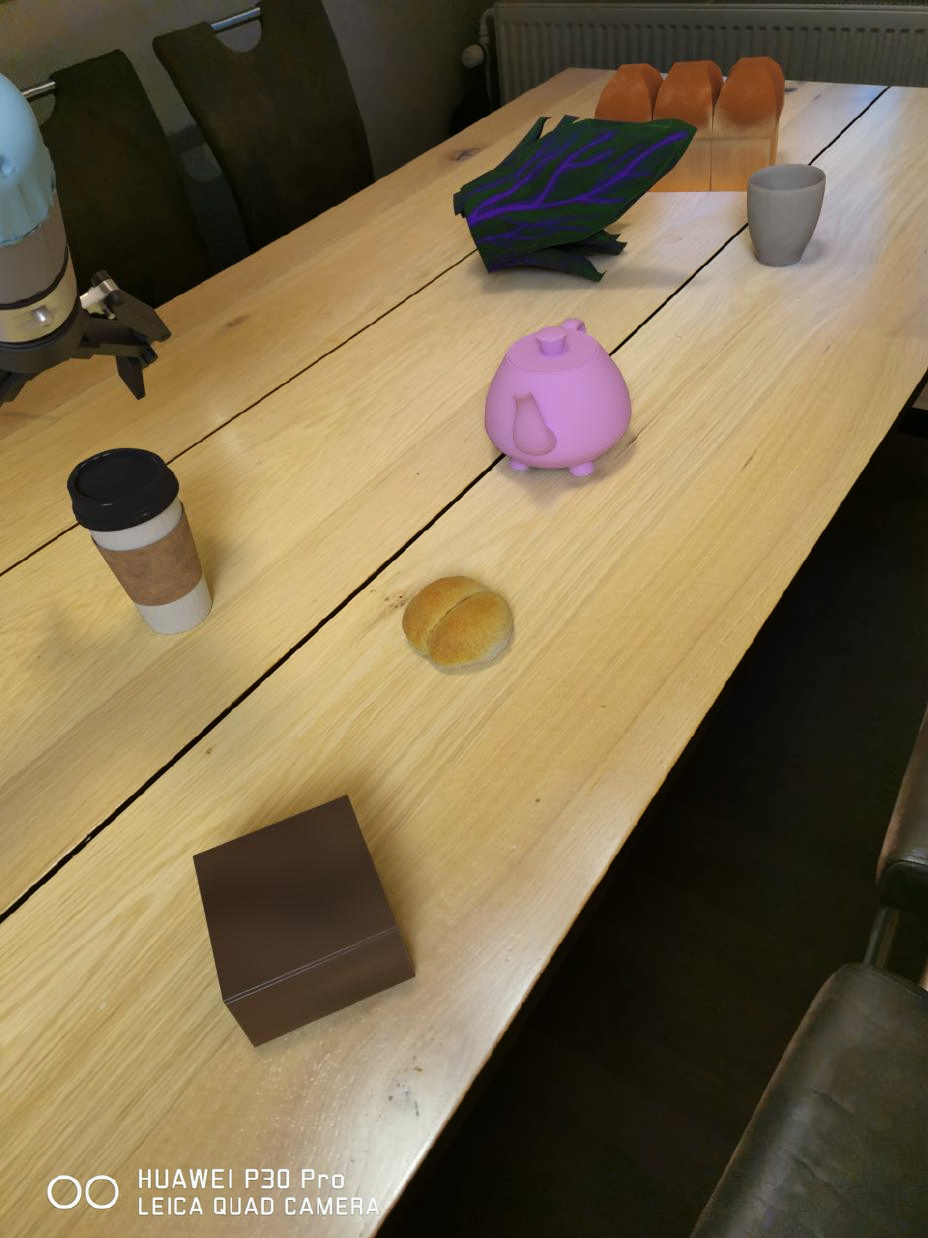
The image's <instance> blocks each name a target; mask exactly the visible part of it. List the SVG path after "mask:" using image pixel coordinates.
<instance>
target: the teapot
mask: <svg viewBox="0 0 928 1238" xmlns="http://www.w3.org/2000/svg"><path fill="white" fill-rule="evenodd" d="M632 411H633V410H632V402H631V397H630V393H629V388H628V386H627V383H626V380H625V378H624V376H623V373H622V372H621V370H620V368H619V367H618V365H617V363H616V362H615V361H614V360H613V358H612V357H611V356H610V354H609V353H608V352H607V350H606V348H604V347H603V346H602V345H601V344H600V342H599V341H598V340H596V338H594V336H592V335H591V334H588V333H587V327H586V323H585V322H584V321H583V320H581V319H580V318H577V317H571V318H570V317H569V318H566V319H565V320H563V321H562V323H561V324H560V325H559V326H558V325H550V326H549V325H548V326H544V327H542V328H540V329H537V331H534V332H531V333H529V334H526V335H524V336H522V337H521V338H519V339H517V340H516V341H514V342H513V344H511V346H510V347H509V348H508V349H507V350H506V353H505V354H504V356H503V357H502V359H501V361H500V363H499V365H498V366H497V368H496V371H495V373H494V374H493V376H492V379H491V382H490V384H489V387H488V390H487V394H486V397H485V404H484V420H483V421H484V429H485V433H486V435H487V437H488V439H489V440H490V442H491V443H492V445H493V446H494V447H496V448H497V450H499V451H500V452H501V453H502V454H504V455H505V456H507V457H509V462H508V467H510V468H511V469H513V470H516V471H521V470H527V469H529V468H531V467H533V468H539V469H565V468H567V469H568V471H569V473H570V474H572V475H574V476H577V477H583V476H587V475H590V474H592V473H593V472H594V471H595V468H596V467H595V463H594V462H593V461H594V460H595V459H596V460H597V458H599V457H601V456H603V455H604V454H605V453H607V452H608V451H609V450H610V449H612V447H613V446H614V445H616V444H617V443H618V441H620V439H621V438H622V437H623V436H624V434H626V431H627V429H628V428H629V426H630V423H631V419H632V413H633V412H632Z"/></svg>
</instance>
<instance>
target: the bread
mask: <svg viewBox="0 0 928 1238" xmlns="http://www.w3.org/2000/svg"><path fill="white" fill-rule="evenodd" d="M784 75H785V74H784V72H783V71H782V68H781V65H780V64H779V63H777V62H776V61H775V60H774V59H773V58H771V57H770V56H756V57H755V56H754V57H741V58H740V59H738V60H737V62H735V63H734V65H733V66H732V67H731V68H730V70H729V72H728V74H727V76H726V78H725V80H724V76H723V73H722V69H721V68H720V67H719V66H718V65H717V64H716V63H715V62H714V61H713V60H712V59H709V60H694V61H693V60H692V61H676V62H674V63H673V65H672V66H671V67H670V70H669V71H668V73H667V75H666V76H665V79H664V78H663V76H662V73H661V72H660V71H659V70H658V69H656V68H655V67H654V66H651V65H650V64H649V63H648V62H647V63H645V62H644V63H629V64H628V63H626V64H621V65H620V66H619V67H618V69H617V70H616V72H615V73H614V74H613V75H612V76H611V78H610V79H609V81H608V83H607V84H606V85H605V86H604V87H603V89H602V90H601V93H600V96H599V98H598V102H597V104H596V108H595V110H594V118H593V119H603V120H615V121H627V122H639V123H642V122H647V121H652V120H656V119H666V118H674V119H680V120H682V121H684V122H686V123H688V124H690V125H692V126H694V127H696V128H698V130H697V132H696V134H695V135H694V137H693V139H692V141H691V143H690V145H689V147H688V149H687V150H686V152H685V153H684V155H683V156H682V158H681V159H680V160H679V162H678V163H677V164H676V166H675V167H674V168H673V169H672V170H671V171H670V172H669V173H667V174H666V175H665V176H664V177H663V178H661V179H660V180H659V181H658V182H657V183H656V184H655V185H654V186H653V187H652V188H651V189H650V190H648V191H647V192H646V193H674V192H675V193H677V192H679V193H680V192H682V193H683V192H685V193H686V192H687V193H688V192H747V186H748V180H749V178H750V176H751V175H752V174H753V173H754V172H756V171H758V170H760V169H762V168H765V167H769V166H774V165H776V162H777V157H778V156H777V155H778V144H779V143H778V142H779V132H780V131H779V130H780V121H781V116H782V113H783V109H784V107H785V100H786V99H785V97H786V95H785V94H786V93H785V92H786V78H785V76H784Z"/></svg>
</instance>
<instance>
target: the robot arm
mask: <svg viewBox="0 0 928 1238" xmlns="http://www.w3.org/2000/svg"><path fill="white" fill-rule="evenodd" d="M56 179H57V178H56V170H55V166H54V161H53V160H52V158H51V154H50V149H49V148H48V146H46V145H45V143H44V137H43V135H42V132H41V130H40V126H39V123H38V120H37V117H36V115H35V113H34V110H33V108H32V107H31V105H30V103H29V101H28V100H27V98H26V97H25V96H24V94H23V92H22V91H21V90H20V89H19V88H18V87H17V86H16V85H15V84H14V83H13V82H12V81H11V80H10V78H8V77H7V76H6V75H4V74H2V73H1V72H0V409H1V408H2V406H3V405H4V404H6V403H11V402H14V401H15V399H17V397H18V395H19V394H20V392H22V389H23V388H24V387H25V385H26V384H27V383H28V382H32V381H33V380H34V379H35V378H37V376H39V375H40V374H42V373H44V372H45V371H47V370H50V369H53V368H55V367H56V366H58V365H60V364H63V363H64V362H68V361H70V359H73V360H74V359H76V360H90V359H92V357H93V356H94V355H95V356H96V355H98V356H113V357H115V358H114V359H115V363H116V368H117V374H118V376H119V378H120V379H121V380H122V383H124V384H125V386H126V387H127V388H128V390H129V391H130V392H131V394H132V395H133V396H134V398H135V399H136V400H137V401H140V400H142V399H143V398H146V388H145V387H146V386H145V381H144V373H143V372H144V371H143V370H146V369H147V368H149V367H150V365H153V364H154V363H155V362H156V361H157V360H158V359H159V355H158V353H157V352H156V351H155V350H154V348H153V347H152V346H151V345H153V344H154V343H155V342H158V343H164V342H166V341H167V340H169V339H170V338H171V337H172V332H171V330H170V329H169V328H168V326H167V325H166V323H164V321H163V319H162V318H161V317H160V316H159V314H158V313H157V312H156V311H155V309H154V308H153V307H152V306H151V305H148V304H147V303H145V302H143V301H141V300H140V299H139V298H137V297H134V296H133V295H131V294H130V293H128V292H126V291H125V290H122V289H121V288H119V286H118V285H117V284H116V283H115V282H114V280H113V279H112V277H111V276H110V275H109V273H108V272H107V271H106V270H99V271H97V272H95V273H94V274H93V275H92V276H91V278H90V282H91V284H92V286H91V287H90V288H89V289H88V291H86V292H85V293H83V294H82V295H81V294H80V290H79V286H78V283H77V279H76V274H75V270H74V269H75V268H74V264H73V260H72V256H71V251H70V248H69V244H68V241H67V234H66V229H65V225H64V220H63V215H62V210H61V206H60V200H59V195H58V192H57V181H56ZM93 313H98V314H99V315H105V316H106V317H107V319H106V318H98V317H91V314H93ZM113 319H116V320H113Z"/></svg>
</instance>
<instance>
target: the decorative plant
mask: <svg viewBox="0 0 928 1238" xmlns="http://www.w3.org/2000/svg"><path fill="white" fill-rule="evenodd" d="M552 118H553V116H539V117H538V118H537V120H536V121H535V123H534V124H533V125H532V127H531V128H530V129H529V130H528V131H527V133H526V134H525V135H524V137H523V138H522V139H521V140H520V141H519V143H518V144H516V146H515V147H514V148H513V149H512V150H511V151H510V153H508V154H507V156H505V157H504V158H503V160H501V161H500V163H498V164H497V165H496V166H495V167H494V168H493V169H490V170H487V172H484V173H483V174H481V175H479V176H477V177H475V178H473V179H471V180H470V181H468V182H467V183H464V184H463V185H462V186H461V187H459V191H457V192H455V193H453V195H452V196H453V197H452V203H453V204H452V207H453V212H454V216H455V217H456V216H458V215H460V216H461V218H462V219H465V221H466V224H467V227H468V230H469V234H470V236H471V239H472V241H473V243H474V245H475V247H476V250H477V252H478V253H479V256H480V258H481V260H482V263H483V265H484V267H485V269H486V272H487V273H488V274H491V273H494V272H497V271H499V270H502V269H504V268H508V267H513V266H518V265H526V266H535V267H542V268H547V269H553V270H558V271H564V272H567V273H570V274H573V275H577V276H580V277H584V278H587V279H590V280H592V281H594V282H596V283H599V282H600V281H601V280H602V278H603V277H604V275H605V274H606V273H607V272H608V270H607V269H606V270H605V271H603V272H599V271H598V269H597V268H596V267H595V265H594V263H592V261H591V260H589V259H588V258H587V257H585V256H589V255H600V254H601V255H605V254H606V255H614V256H619V255H620V254H621V253H622V252H623V251H624V249H625V248H626V246H627V245H628V243H629V242H627V241H619V240H618V238H619V237H620V236H621V235H622V233H615V234H613V233H609V232H608V231H606V230H604V229H606V228H608V227H610V225H612V224H614V223H616V222H618V220H619V219H621V218H622V216H624V215H626V213H627V212H628V211H629V210H631V208H632V207H633V206H634V205H635V204H636V203H638V201H639V200H640V199H642V198H643V196H645V195H646V194H647V193H648V192H647V191H648V190H650V189H651V188H652V187H653V186H654V185H655V184H656V183H657V182H658V181H659V180H660V179H661V178H663V177H664V176H665V175H666V174H667V173H669V172H670V171H671V170H672V169H673V168H674V167H675V166H676V164H677V163H678V162H679V160H680V159H681V158H682V156H683V155H684V153H685V152H686V150H687V149H688V147H689V145H690V143H691V141H692V139H693V137H694V135H695V134H696V132H697V130H698V128H696V127H694V126H692V125H690V124H688V123H686V122H684V121H682V120H680V119H674V118H666V119H656V120H652V121H647V122H642V123H639V122H627V121H615V120H603V119H594V118H590V117H589V118H588V117H585V118H583V119H581V117H580V116H574V115H571V114H564V115H563V117H561V119H560V121H559V122H558V123H557V125H555V127H554V128H553V129H552V130H549V131H548V132H547V133H545V134H544V135H542V134H543V130H544V127H545V123H546V122H547V121H548V120H549V119H552Z"/></svg>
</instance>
